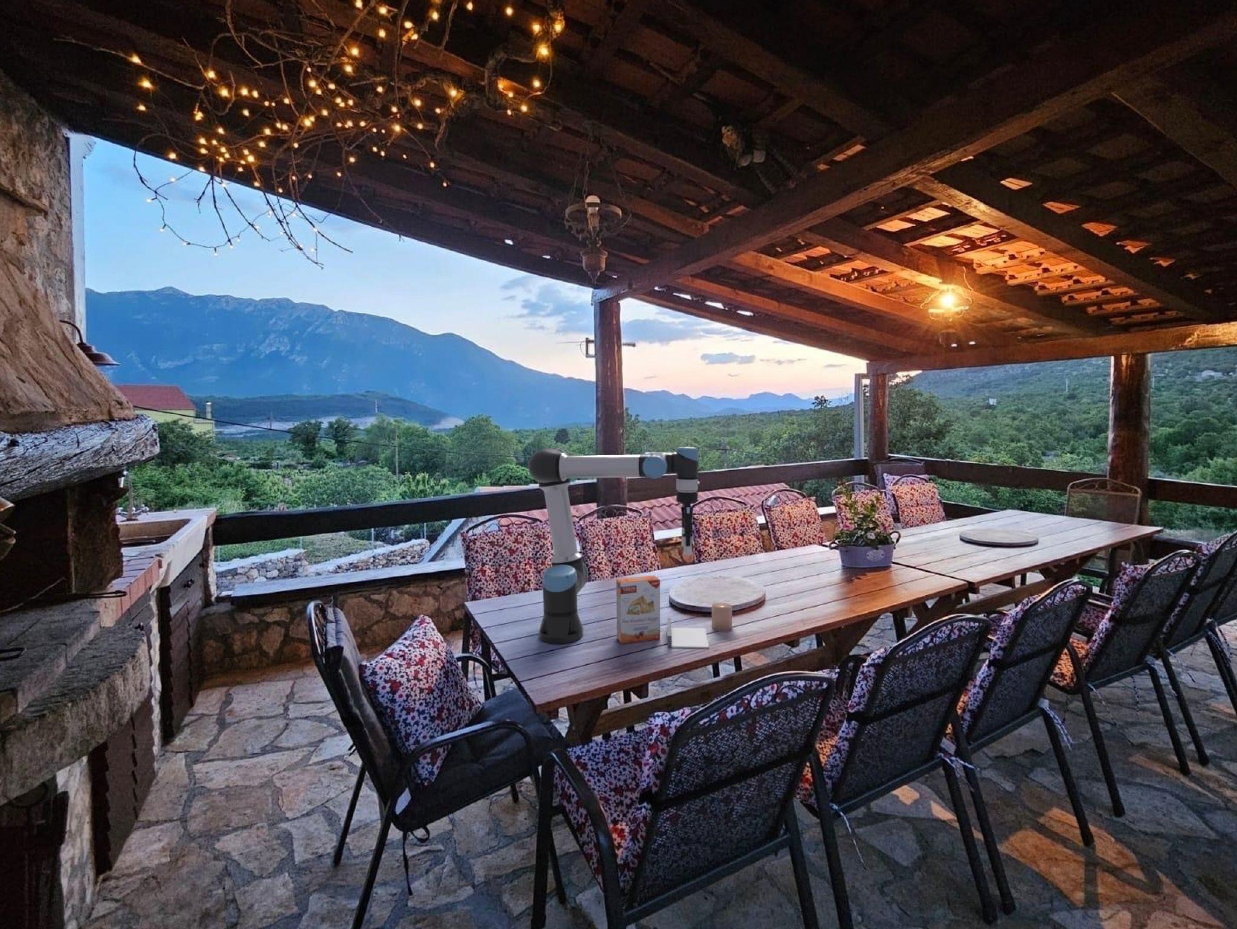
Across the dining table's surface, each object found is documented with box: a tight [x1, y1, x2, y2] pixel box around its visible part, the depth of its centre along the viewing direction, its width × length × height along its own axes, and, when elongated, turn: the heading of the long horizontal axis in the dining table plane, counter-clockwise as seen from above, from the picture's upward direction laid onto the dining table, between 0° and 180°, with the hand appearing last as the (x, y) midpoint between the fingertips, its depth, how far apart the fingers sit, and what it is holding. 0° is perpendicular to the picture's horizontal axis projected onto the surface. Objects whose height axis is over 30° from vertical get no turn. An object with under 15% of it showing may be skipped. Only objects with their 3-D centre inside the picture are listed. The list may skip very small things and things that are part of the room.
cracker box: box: [615, 575, 661, 645], centre depth 186 cm, size 14×6×21 cm, turn 105°
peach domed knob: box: [711, 602, 733, 633], centre depth 195 cm, size 7×7×8 cm
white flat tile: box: [666, 617, 710, 649], centre depth 186 cm, size 13×16×4 cm
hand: (686, 550), depth 195 cm, fingers open, 13 cm apart
